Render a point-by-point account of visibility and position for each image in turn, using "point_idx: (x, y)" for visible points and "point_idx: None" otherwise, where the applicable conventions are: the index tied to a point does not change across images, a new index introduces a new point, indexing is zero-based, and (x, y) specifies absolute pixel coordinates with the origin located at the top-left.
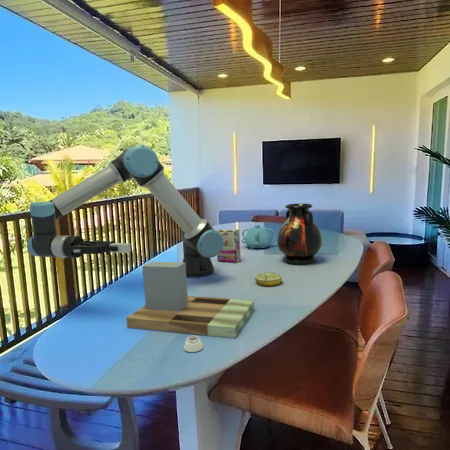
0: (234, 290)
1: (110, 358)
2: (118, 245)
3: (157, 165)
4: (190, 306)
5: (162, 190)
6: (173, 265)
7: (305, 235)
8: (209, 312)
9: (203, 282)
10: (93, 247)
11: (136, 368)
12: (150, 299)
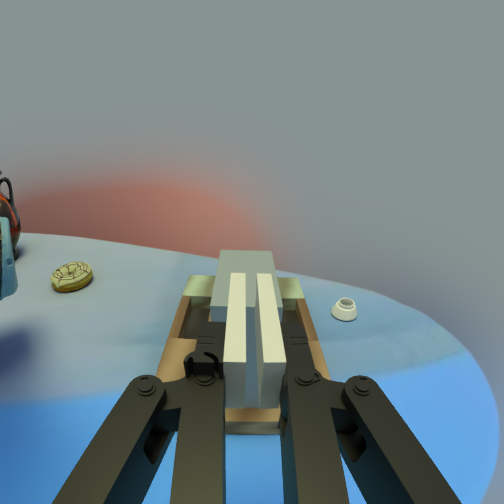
0: (92, 313)
1: (428, 375)
2: (275, 312)
3: None
4: None
5: None
6: (255, 258)
7: (13, 212)
8: None
9: (22, 359)
10: (409, 441)
11: (418, 339)
12: None
